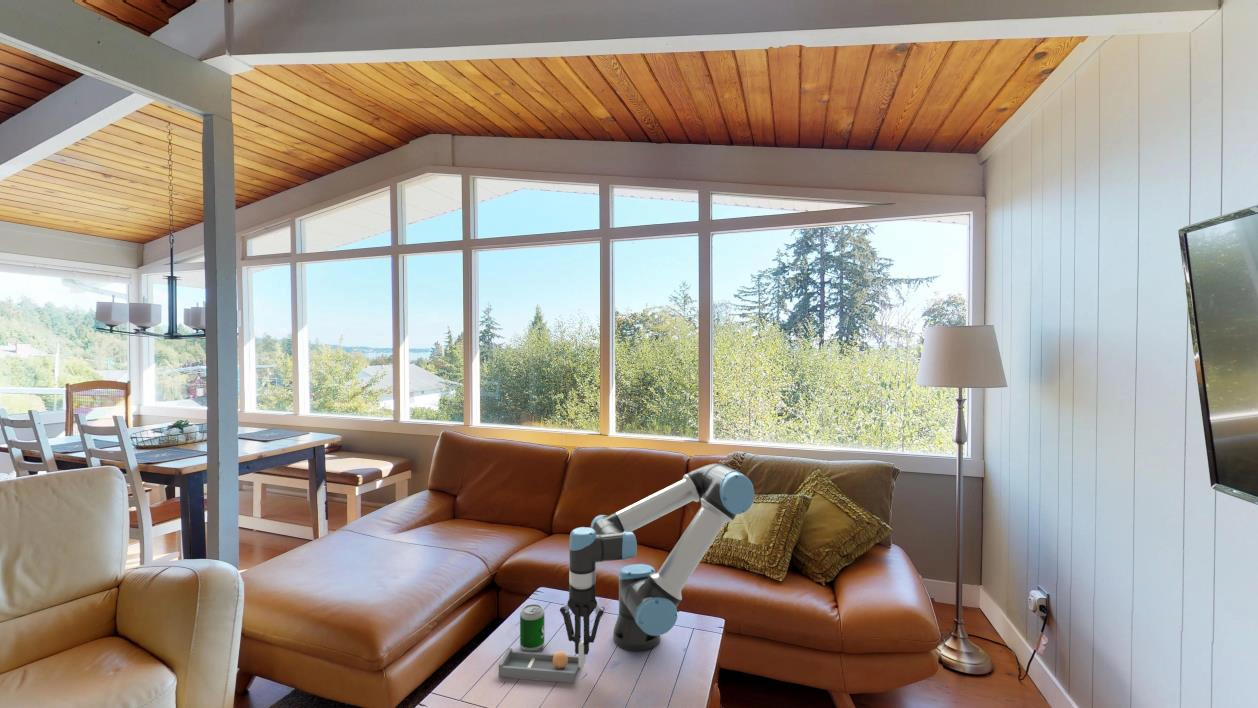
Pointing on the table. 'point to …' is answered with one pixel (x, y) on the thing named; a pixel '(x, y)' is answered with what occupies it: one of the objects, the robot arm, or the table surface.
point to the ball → (560, 660)
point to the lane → (537, 667)
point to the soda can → (532, 627)
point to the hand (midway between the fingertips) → (581, 664)
